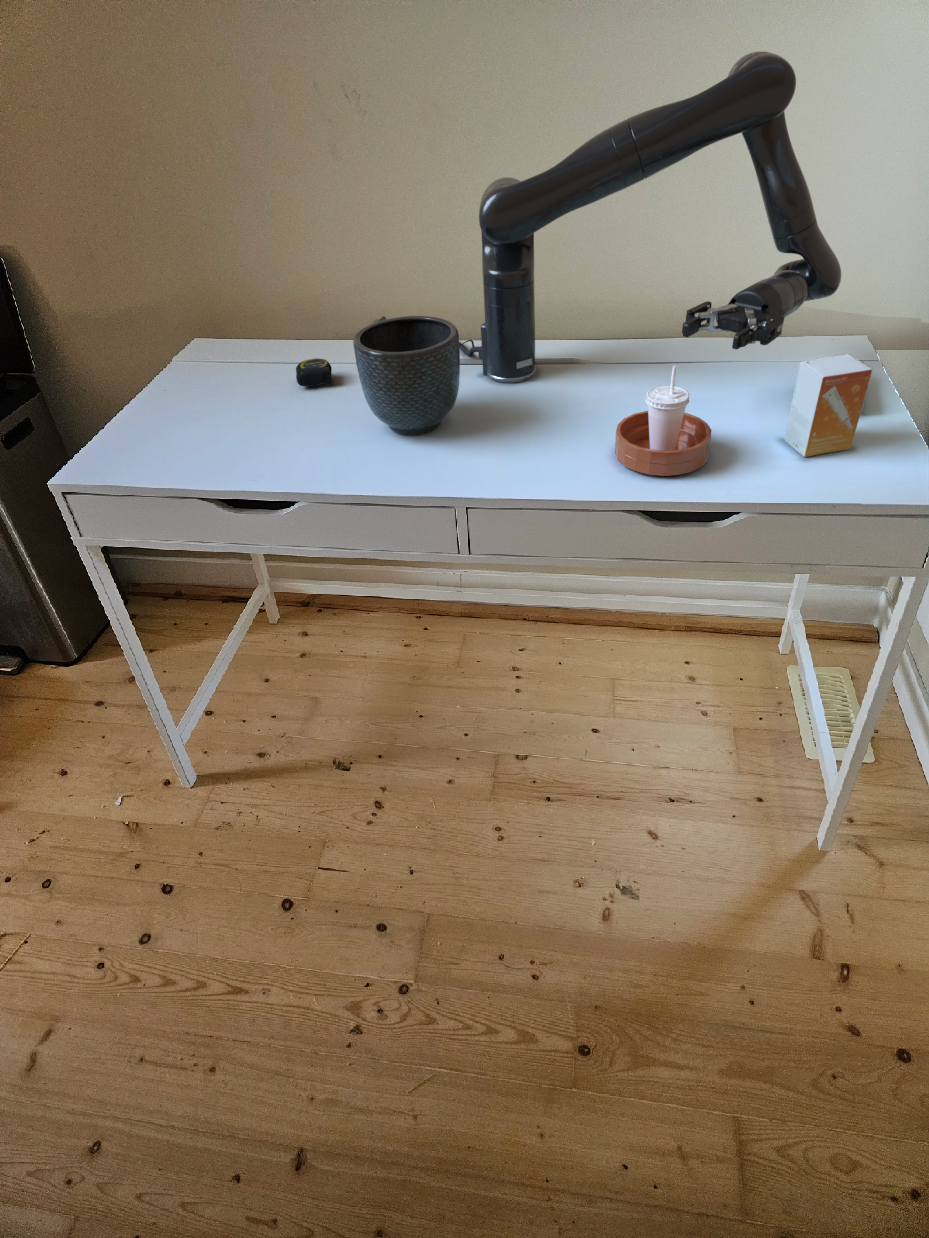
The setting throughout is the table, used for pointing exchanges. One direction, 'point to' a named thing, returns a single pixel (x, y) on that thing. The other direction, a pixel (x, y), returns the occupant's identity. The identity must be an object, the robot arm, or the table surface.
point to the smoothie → (666, 414)
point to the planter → (409, 371)
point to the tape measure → (313, 372)
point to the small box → (826, 404)
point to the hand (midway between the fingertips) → (709, 336)
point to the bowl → (640, 458)
